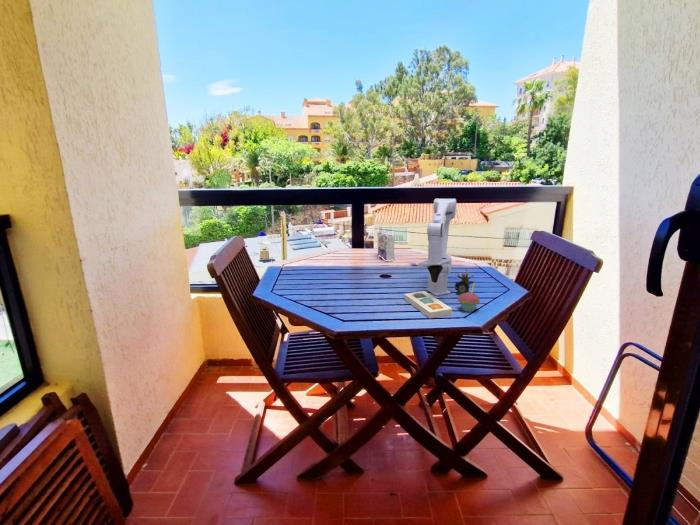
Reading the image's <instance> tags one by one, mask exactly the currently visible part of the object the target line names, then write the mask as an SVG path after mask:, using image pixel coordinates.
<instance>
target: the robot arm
mask: <svg viewBox="0 0 700 525" xmlns="http://www.w3.org/2000/svg"><path fill="white" fill-rule="evenodd" d="M456 212H457V199H456V198H436V197H435V199H434V200H433V213H434V214H433V215H432V217H431V218H432V219H431V221H430V223H428V224H427V227H426V234H427V242H428V246H427V248H428V249H427V250H428V252H427V255H428V256H427V260H424V261H419V262H418V268H420V269H423V268H427V271H428V273H429V274H428V276H427V287H426V288H425V289H426V291H428V292H430V294H433V295H434V296H440V295H446V294H447V295H448V294H451V293H452V292H451V291H449V290H448V275H449V274H450V273H451V272H452V257H451V256H450V255H449V254H448V253H447V249H448V248H447V247H448V239H449V231H450V224H451V220H453V219H455V217H456V215H457V214H456Z"/></svg>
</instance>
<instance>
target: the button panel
mask: <svg viewBox="0 0 700 525" xmlns="http://www.w3.org/2000/svg"><path fill="white" fill-rule="evenodd" d="M415 293H423V294H424V297H422V298H416V297H414V294H415ZM423 298H430V299H432V303H427V304H424V303H423V302H422V299H423ZM403 300H404V301H406V302H407V303H409V304H410V305H412V307H413V308H416V309H417V310H418V311H419V312H421V313H422V314H423V315H424V316H426V317H428V318H429V319H434V318H440V317H445V316H446V317H447V316H451V315H453V308H452V307H450V306H449V305H447V304H446V303H444V302H442V301H441V300H440V299H438V298H436V297H434V296H433V295H431V293H428V292H427V291H425V290H422V291H421V290H420V291H417V292H415V291H414V292H408V293H404V299H403ZM431 304H440V305H441V309H435V310H433V309H431V308H430V305H431Z"/></svg>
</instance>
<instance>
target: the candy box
mask: <svg viewBox="0 0 700 525" xmlns="http://www.w3.org/2000/svg"><path fill="white" fill-rule="evenodd" d="M378 255H380V256H381V257H383V258H384V259H385V260H391V259H394V260H395V234H393V233H391V232H388V231H386V230H382V231H377V256H378Z"/></svg>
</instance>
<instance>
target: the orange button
mask: <svg viewBox="0 0 700 525" xmlns="http://www.w3.org/2000/svg"><path fill="white" fill-rule="evenodd" d="M430 308H431V309H433V310H435V309H441V305H440V304H431V305H430Z"/></svg>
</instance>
